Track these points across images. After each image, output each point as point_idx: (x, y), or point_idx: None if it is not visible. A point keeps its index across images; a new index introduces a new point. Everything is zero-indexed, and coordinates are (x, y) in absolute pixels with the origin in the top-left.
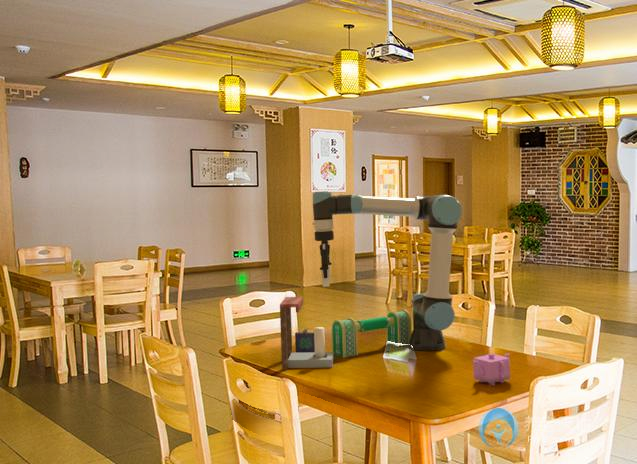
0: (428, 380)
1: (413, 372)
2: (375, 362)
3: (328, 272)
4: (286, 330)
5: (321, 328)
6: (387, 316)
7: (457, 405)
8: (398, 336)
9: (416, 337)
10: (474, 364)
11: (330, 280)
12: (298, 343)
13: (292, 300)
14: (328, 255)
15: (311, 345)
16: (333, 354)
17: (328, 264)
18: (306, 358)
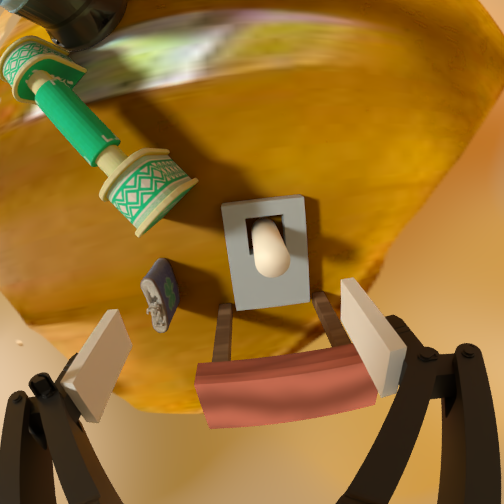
0: (378, 2)
1: (327, 16)
2: (243, 92)
3: (395, 333)
4: (337, 341)
5: (278, 252)
6: (18, 96)
7: (474, 10)
8: (73, 65)
9: (95, 19)
10: None
11: (116, 314)
12: (173, 311)
13: (296, 397)
14: (94, 480)
15: (167, 277)
16: (228, 204)
17: (62, 397)
18: (294, 263)
